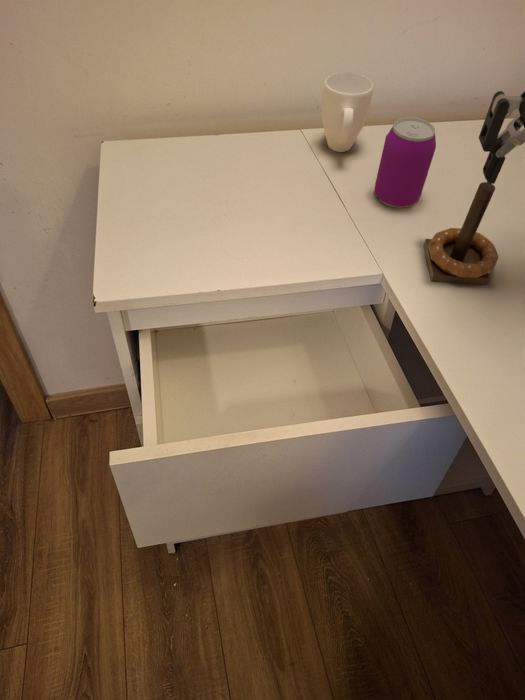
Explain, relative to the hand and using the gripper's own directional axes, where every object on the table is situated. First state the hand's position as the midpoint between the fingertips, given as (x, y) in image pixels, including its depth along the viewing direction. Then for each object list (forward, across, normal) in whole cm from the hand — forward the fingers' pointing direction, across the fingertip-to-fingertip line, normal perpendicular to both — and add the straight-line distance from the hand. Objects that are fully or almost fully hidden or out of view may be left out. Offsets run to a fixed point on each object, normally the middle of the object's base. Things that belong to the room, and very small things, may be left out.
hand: (520, 181), depth 65 cm
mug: (+14, -20, +29) cm, 38 cm away
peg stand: (+14, -4, 0) cm, 15 cm away
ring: (+12, -3, 0) cm, 12 cm away
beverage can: (+14, -11, +16) cm, 24 cm away
